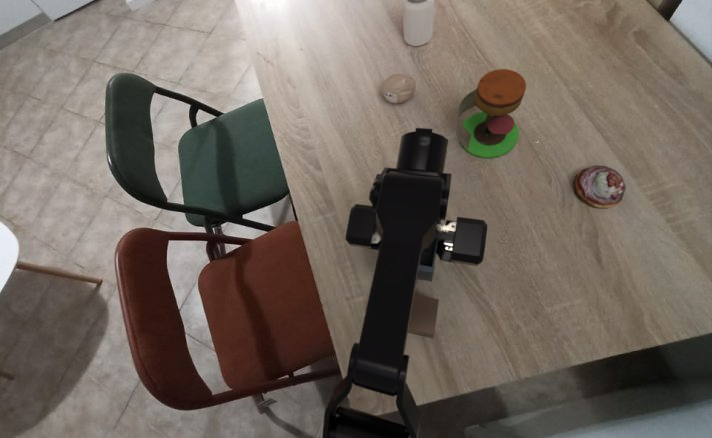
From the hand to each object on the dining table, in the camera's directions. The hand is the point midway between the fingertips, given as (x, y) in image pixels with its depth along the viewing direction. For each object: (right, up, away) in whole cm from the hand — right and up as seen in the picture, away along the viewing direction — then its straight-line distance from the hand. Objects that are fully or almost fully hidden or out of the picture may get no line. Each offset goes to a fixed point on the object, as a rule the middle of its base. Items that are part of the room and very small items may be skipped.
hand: (414, 244), depth 71 cm
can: (+11, +46, +30) cm, 57 cm away
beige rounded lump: (+5, +31, +26) cm, 40 cm away
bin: (+1, -6, +6) cm, 9 cm away
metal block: (+1, -13, +7) cm, 15 cm away
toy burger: (+20, +21, +16) cm, 33 cm away
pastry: (+34, +9, +6) cm, 36 cm away
